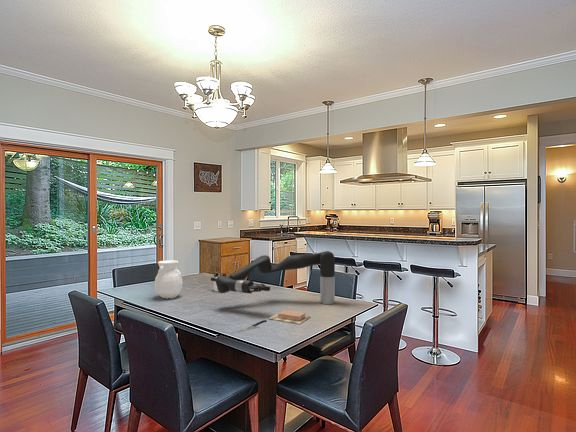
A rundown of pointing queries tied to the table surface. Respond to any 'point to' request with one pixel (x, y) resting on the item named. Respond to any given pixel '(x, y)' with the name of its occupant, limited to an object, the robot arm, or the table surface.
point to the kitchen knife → (253, 326)
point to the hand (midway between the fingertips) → (269, 288)
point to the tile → (291, 315)
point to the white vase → (168, 279)
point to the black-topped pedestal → (215, 281)
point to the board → (288, 319)
